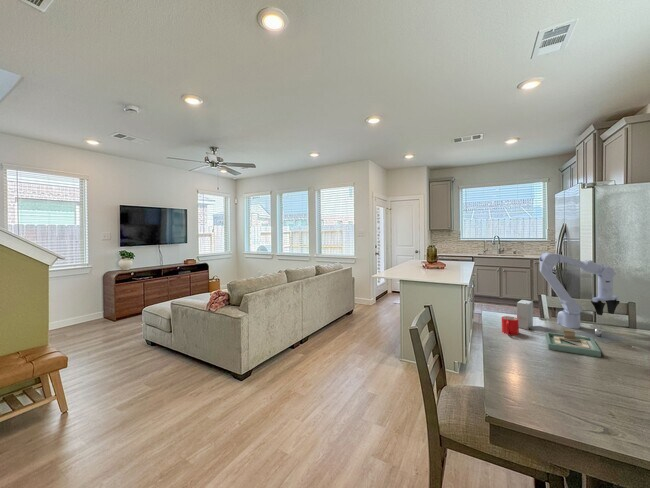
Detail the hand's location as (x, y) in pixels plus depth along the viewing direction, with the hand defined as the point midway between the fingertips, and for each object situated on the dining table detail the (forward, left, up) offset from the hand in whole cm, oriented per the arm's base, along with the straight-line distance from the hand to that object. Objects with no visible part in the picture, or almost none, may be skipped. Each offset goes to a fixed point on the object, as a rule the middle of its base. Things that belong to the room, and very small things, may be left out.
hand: (605, 314), depth 153 cm
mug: (-12, -48, -10) cm, 50 cm away
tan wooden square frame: (+10, -35, -9) cm, 37 cm away
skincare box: (-18, -32, -10) cm, 38 cm away
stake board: (+7, -13, -9) cm, 18 cm away
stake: (+7, -14, -8) cm, 18 cm away
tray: (+10, -35, -9) cm, 38 cm away
